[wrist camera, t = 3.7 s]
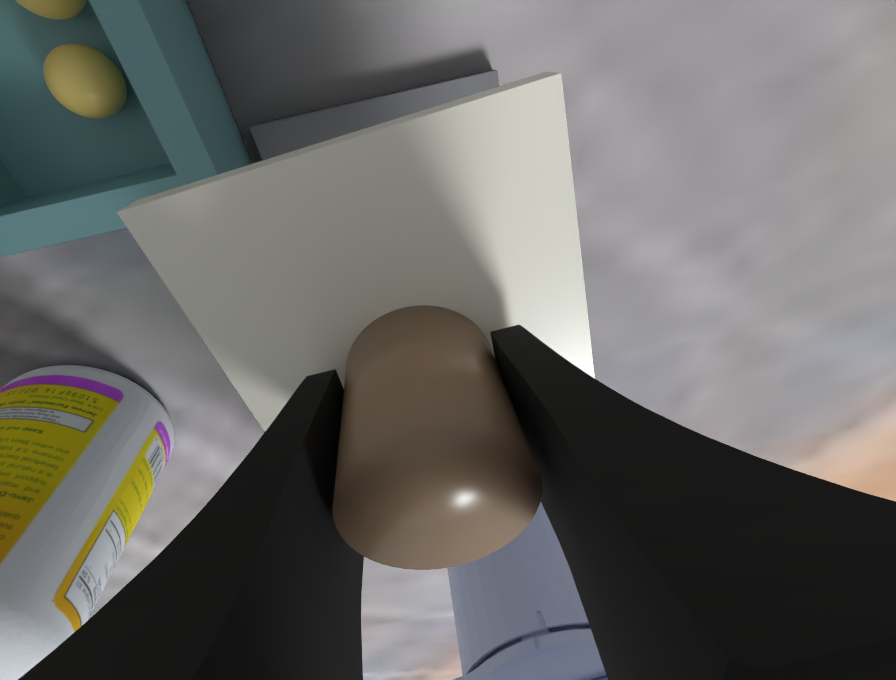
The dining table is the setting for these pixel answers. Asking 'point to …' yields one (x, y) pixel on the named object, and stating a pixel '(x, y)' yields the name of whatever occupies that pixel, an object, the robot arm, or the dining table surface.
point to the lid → (395, 304)
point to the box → (102, 114)
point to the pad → (362, 114)
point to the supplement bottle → (68, 498)
